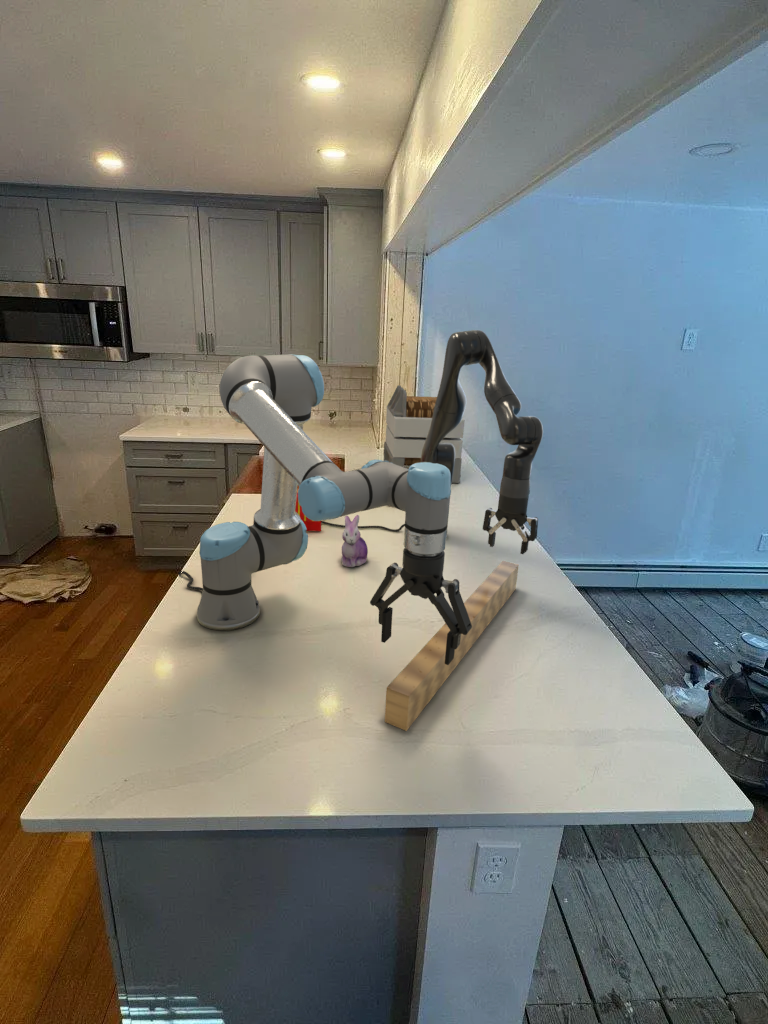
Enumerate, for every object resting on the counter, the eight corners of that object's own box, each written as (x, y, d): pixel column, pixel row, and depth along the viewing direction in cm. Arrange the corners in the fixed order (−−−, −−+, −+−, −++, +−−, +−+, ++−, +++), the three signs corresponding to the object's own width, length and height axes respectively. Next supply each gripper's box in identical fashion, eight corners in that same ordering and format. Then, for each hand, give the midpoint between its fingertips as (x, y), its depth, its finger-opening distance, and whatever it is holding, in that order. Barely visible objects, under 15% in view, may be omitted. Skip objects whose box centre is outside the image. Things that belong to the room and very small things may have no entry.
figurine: (346, 570, 170) (347, 523, 165) (333, 557, 178) (334, 512, 173) (374, 565, 174) (376, 519, 169) (360, 552, 183) (362, 509, 178)
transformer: (382, 463, 289) (386, 382, 275) (445, 464, 293) (451, 384, 279) (390, 482, 257) (394, 392, 243) (460, 483, 261) (468, 394, 247)
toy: (330, 481, 223) (325, 494, 194) (330, 514, 226) (324, 532, 196) (299, 480, 222) (289, 493, 193) (299, 513, 225) (289, 531, 196)
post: (499, 585, 166) (502, 560, 163) (515, 589, 163) (518, 564, 161) (384, 722, 109) (386, 687, 106) (406, 731, 107) (409, 696, 104)
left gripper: (354, 540, 105) (351, 639, 112) (482, 573, 94) (470, 681, 101) (375, 527, 111) (371, 622, 118) (497, 558, 100) (484, 660, 107)
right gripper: (483, 491, 148) (477, 548, 154) (537, 501, 142) (529, 560, 147) (492, 484, 155) (486, 539, 160) (545, 494, 148) (536, 551, 154)
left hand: (416, 649), depth 110 cm, fingers open, 13 cm apart
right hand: (507, 549), depth 154 cm, fingers open, 8 cm apart
